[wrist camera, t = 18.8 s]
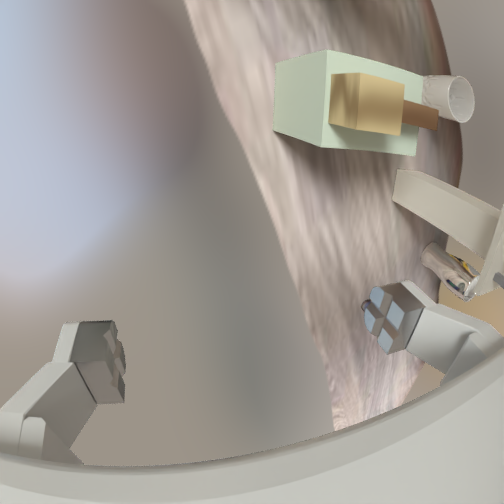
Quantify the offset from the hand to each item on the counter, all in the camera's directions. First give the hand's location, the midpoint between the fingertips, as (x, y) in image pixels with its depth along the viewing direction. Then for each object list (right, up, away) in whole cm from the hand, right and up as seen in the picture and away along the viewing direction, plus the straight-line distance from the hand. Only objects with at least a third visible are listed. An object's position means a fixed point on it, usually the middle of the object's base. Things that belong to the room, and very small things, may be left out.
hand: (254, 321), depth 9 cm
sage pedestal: (+9, +24, +31) cm, 40 cm away
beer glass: (+41, +2, +53) cm, 67 cm away
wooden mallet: (+14, +17, +18) cm, 29 cm away
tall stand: (+28, +14, +42) cm, 52 cm away
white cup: (+30, +31, +34) cm, 55 cm away
